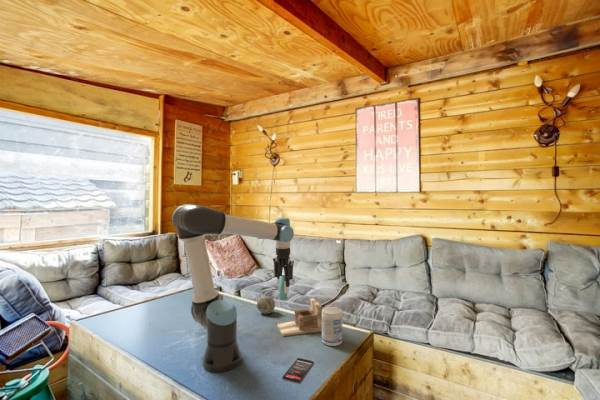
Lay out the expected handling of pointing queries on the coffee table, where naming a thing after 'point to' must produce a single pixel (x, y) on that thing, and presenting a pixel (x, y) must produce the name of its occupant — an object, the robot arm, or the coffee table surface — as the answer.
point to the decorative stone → (265, 304)
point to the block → (305, 319)
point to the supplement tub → (332, 326)
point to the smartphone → (298, 370)
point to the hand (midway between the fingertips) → (283, 291)
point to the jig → (293, 329)
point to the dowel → (282, 288)
